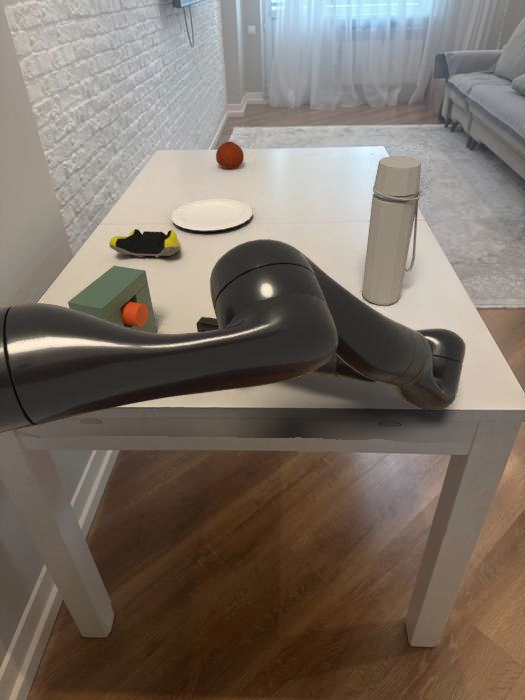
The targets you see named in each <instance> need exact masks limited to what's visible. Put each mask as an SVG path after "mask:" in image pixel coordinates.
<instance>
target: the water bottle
mask: <svg viewBox="0 0 525 700" xmlns="http://www.w3.org/2000/svg"><path fill="white" fill-rule="evenodd" d="M421 170H422V162H421V160H419V159H417V158H415V157H412V156H404V155H390V156H385V157H382V158H381V159H379V160H378V164H377V169H376V174H375V179H374V183H373V186H372V192H373V194H372V198H371V207H370V215H369V223H368V224H369V225H368V233H367V243H366V252H365V253H366V254H365V262H364V269H363V281H362V289H361V292H362V296H363V298H364V299H365V300H366V301H367V302H369V303H371V304H374V305H377V306H388V305H392V304H395V303H396V302H397V301H399V299H400V298H401V296H402V291H403V284H404V278H405V272H406V273H409V272H412V269H413V267H414V265H415V260H416V249H417V248H416V245H417V230H418V215H419V213H418V212H419V200H420V199H421V197H423V191H422V190H421V189H420V186H421V173H422V172H421ZM412 233H413V243H412V246H413V247H412V257H411V261H410V265H409V267H408V268H406V266H407V260H408V255H409V251H410V250H409V249H410V244H411V238H412Z"/></svg>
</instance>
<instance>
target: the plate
mask: <svg viewBox="0 0 525 700" xmlns="http://www.w3.org/2000/svg"><path fill="white" fill-rule="evenodd" d="M252 217H253V209H252V207H251V206H250V205H248V204H247V203H245V202H242V201H239V200H235V199H230V198H207V199H199V200H196V201H195V200H193V201H191V202H188V203H185V204H183V205H181V206H178V207H177V208H176V209H174V211H173V212H172V213H171V215H170V219H171V222H172V223H173V224H174V225H175V226H177V227H179V228H181V229H184V230H187V231H191V232H219V231H226V230H230V229H233V228H237V227H239V226H241V225H243V224H245V223H247V222H248V221H249V220H251V218H252Z"/></svg>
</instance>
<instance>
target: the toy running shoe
mask: <svg viewBox="0 0 525 700" xmlns="http://www.w3.org/2000/svg"><path fill="white" fill-rule="evenodd" d="M109 248H111V249H112V250H113V251H115V252H117V253H119V254H122V255H126V256H135V257H136V258H139V259H141V258H145V257H154V258H159V257H171V256H173V255H175V254H176V253H177V252H179V251H180V249H181V248H180V243H179V238H178V236H177V233H176V231H175V230H174V229H170V230H168V231H167V233H164V232H163V231H149V230H148V231H146V230H145V231H143V232H141V231H140V229H139V228H134V229H132V230H131V232H130V233H129V234H128V236H122V235H117V236H113V237H112V238H111V239H110V240H109Z"/></svg>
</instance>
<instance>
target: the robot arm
mask: <svg viewBox="0 0 525 700" xmlns="http://www.w3.org/2000/svg"><path fill="white" fill-rule="evenodd" d="M209 290H210V291H209V292H210V298H211V303H212V307H213V309H214V310H213V311H214V314H215V318H214V317H210V316H209V317H207V316H201V317H200V318H199V319H198V320H197V321H196V332H183V333H158V332H156V333H150V332H145V331H140V330H136V329H132V328H129V327H125V326H122V325H119V324H116V323H113V322H110V321H107V320H105V319H102V318H99V317H96V316H93V315H90V314H87V313H84V312H81V311H77V310H74V309H70V308H69V307H65V306H62V305H58V304H52V303H45V302H44V303H43V302H31V303H30V302H29V303H23V304H16V305H15V304H14V305H7V306H1V307H0V434H1V433H5V432H11V431H15V430H20V429H27V428H31V427H35V426H40V425H44V424H47V423H48V424H49V423H52V422H56V421H60V420H64V419H67V418H73V417H77V416H80V415H85V414H89V413H93V412H98V411H103V410H108V409H115V408H119V407H122V406H127V405H133V404H139V403H143V402H149V401H155V400H161V399H167V398H175V397H181V396H182V397H183V396H191V395H198V394H206V393H214V392H223V391H231V390H238V389H246V388H253V387H254V388H255V387H259V386H260V387H261V386H266V385H273V384H277V383H282V382H286V381H290V380H294V379H297V378H300V377H303V376H306V375H308V374H313V375H317V376H324V377H335V378H337V377H338V378H342V379H346V380H352V381H356V382H362V383H367V384H377V383H381V384H386V385H390V386H391V387H392V388H393V389H394V390H395V392H396V393H397V394H398V395H399V396H400V397H401V398H403V400H405V401H407V402H408V403H410V404H411V405H413V406H415V407H417V408H420V409H423V410H426V411H427V410H428V411H441V410H444V409H446V408H448V407H450V406H451V405H452V404H453V403H455V400H456V399H457V396H458V392H459V389H460V388H459V387H460V382H461V377H462V372H463V367H464V363H465V356H466V349H467V347H466V342H465V341H464V339H463V338H462V337H461V336H460V335H459V334H458V333H456V332H455V331H453V330H450V329H446V328H437V327H436V328H422V329H413V328H411V327H408V326H406V325H405V324H402V323H400V322H398V321H396V320H394V319H392V318H390V317H388V316H386V315H384V314H383V313H381V312H379V311H378V310H376V309H375V308H374V307H371V306H370V305H368V304H367V303H366V302H364V301H362V300H361V299H360V298H358V297H357V296H356V295H354V294H353V293H352V292H350V291H349V290H347V289H346V288H345V287H344V286H342V285H341V284H340V283H338V282H337V281H336V280H335V279H333V278H332V277H331V276H329V275H328V274H327V273H326V272H324V270H323V269H321V268H320V267H319V266H318V265H317V264H316V263H315V262H314V261H313V260H311V259H310V258H309V257H308V256H306V254H305V253H303V252H302V251H300V249H298V248H296V247H295V246H293V245H292V244H289V243H287V242H284V241H282V240H276V239H271V238H268V239H266V238H263V239H260V238H259V239H254V240H248V241H245V242H243V243H240V244H238V245H236V246H234V247H232V248H230V249H229V250H227V252H225V253H224V254H223V255H222V256H221V257H219V258H218V260H217V261H216V263H215V264H214V266H213V267H212V270H211V273H210V277H209Z"/></svg>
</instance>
